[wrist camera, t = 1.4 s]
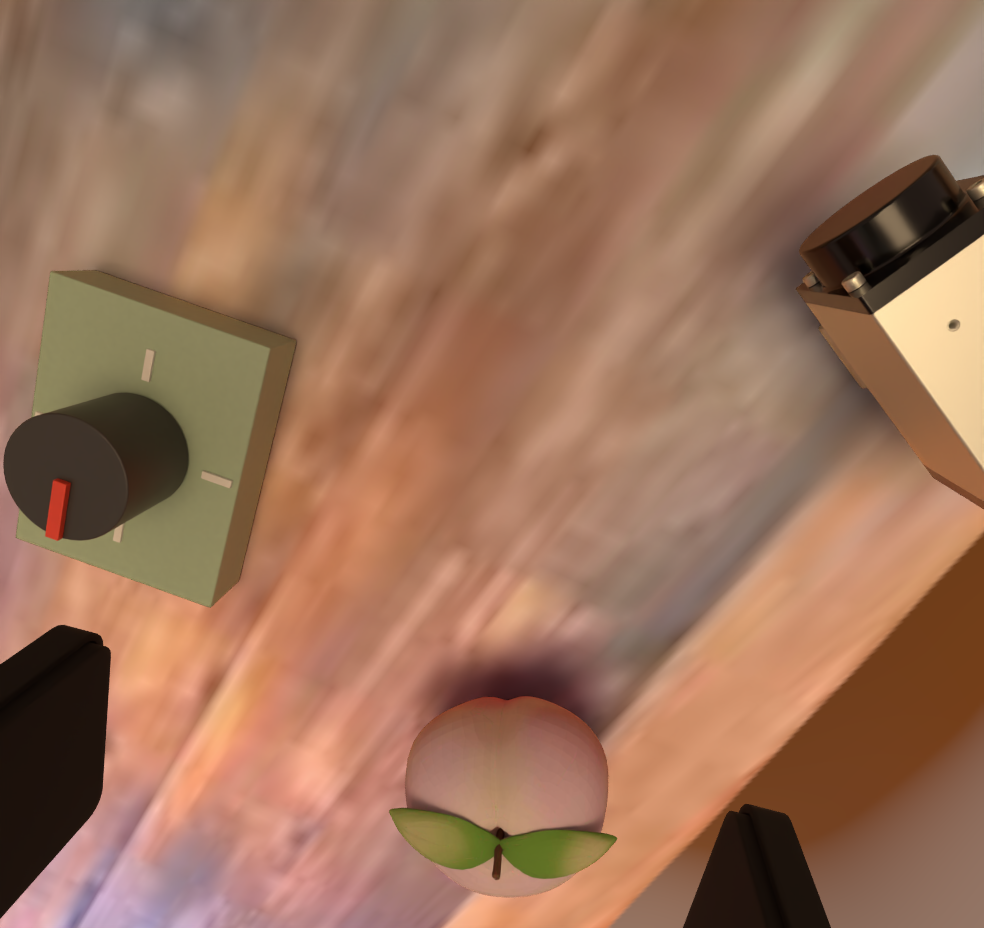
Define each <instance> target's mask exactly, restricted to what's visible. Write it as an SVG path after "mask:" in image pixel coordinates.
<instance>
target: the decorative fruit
mask: <svg viewBox="0 0 984 928" xmlns="http://www.w3.org/2000/svg"><path fill="white" fill-rule="evenodd" d="M405 792H406V803H407V808H396V809H391V810H390V811H389V813H390V815H391V817H392V819H393V821H394V823H395V825H396V827H397V829H398V830H399V832H400V833H401V834H402V836H403V837H404V838H405V839H406V841H407V842H408V843H409V844H410V845H411V846H412V847H413V848H414V849H415V850H417V851H418V852H419V853H420V854H421V855H423V856H424V857H426V858H427V859H429V860H431V861H433V862H434V864H435V865H436V866H437V867H438V868H439V869H440V870H441V871H442V872H443V873H444V874H445V875H446V876H447V877H449V878H450V879H451V880H453V881H454V882H456V883H457V884H459V885H461V886H463V887H465V888H467V889H469V890H471V891H474V892H477V893H480V894H484V895H489V896H496V897H525V896H531V895H537V894H540V893H544V892H546V891H549V890H551V889H554V888H556V887H558V886H559V885H561V884H563V883H564V882H566V881H567V880H569V879H570V878H571V877H572V876H574V875H575V874H576V873H577V872H579V871H581V870H583V869H585V868H586V867H588V866H590V865H591V864H593V863H594V862H596V861H597V860H598V859H599V858H600V857H602V856H603V855H604V854H605V853H606V852H607V851H608V850H609V848H610V847H611V846H612V845H613V844H614V843H615V841H616V840H617V837H615V836H613V835H609V834H605V833H601V831H602V827H603V822H604V817H605V812H606V807H607V798H608V766H607V760H606V756H605V753H604V750H603V748H602V746H601V744H600V742H599V740H598V738H597V736H596V735H595V734H594V732H593V731H592V730H591V729H590V727H589V726H588V725H587V724H586V723H585V722H584V721H582V720H581V719H580V718H579V717H577V716H576V715H575V714H573V713H572V712H570V711H568V710H567V709H565V708H563V707H560V706H558V705H556V704H554V703H551V702H549V701H546V700H543V699H540V698H536V697H529V696H522V697H517V698H514V699H510V700H503V699H500V698H496V697H480V698H477V699H474V700H471V701H468V702H465V703H463V704H460V705H458V706H455V707H453V708H451V709H449V710H447V711H445V712H443V713H442V714H440V715H439V716H437V717H436V718H434V719H433V720H432V721H431V722H430V723H428V724H427V725H426V726H425V727H424V728H423V729H422V731H421V732H420V733H419V735H418V736H417V738H416V739H415V741H414V742H413V745H412V748H411V750H410V753H409V757H408V761H407V768H406V778H405Z"/></svg>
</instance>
